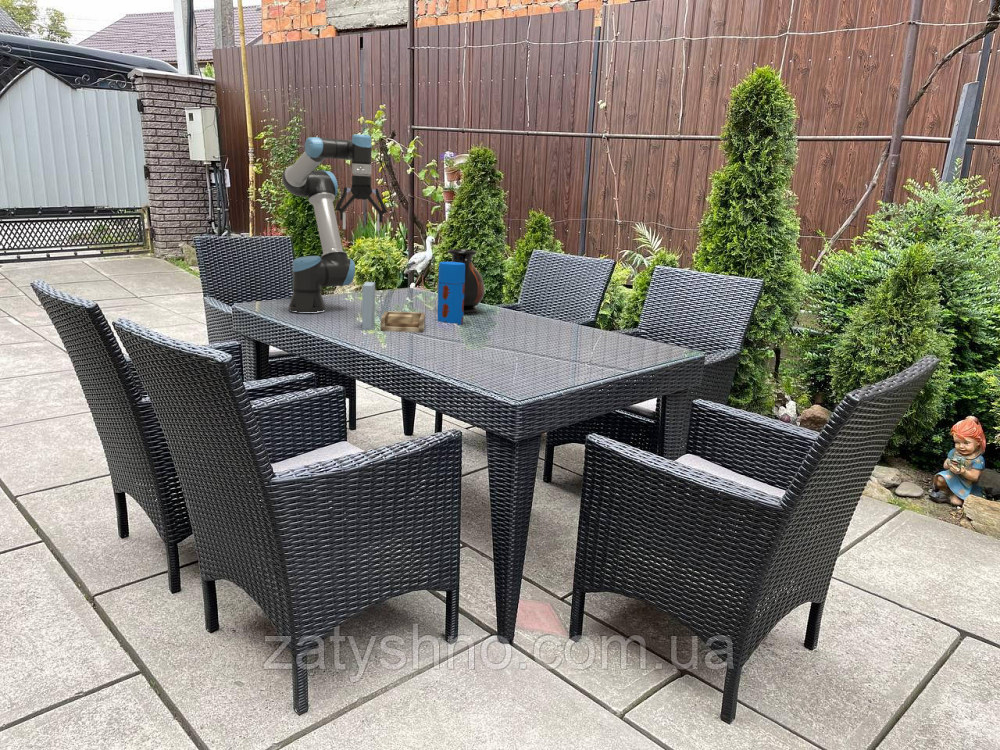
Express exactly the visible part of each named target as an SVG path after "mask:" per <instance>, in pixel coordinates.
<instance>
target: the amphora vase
mask: <svg viewBox="0 0 1000 750" xmlns="http://www.w3.org/2000/svg"><path fill="white" fill-rule="evenodd" d="M447 253H448V254H450V255H451V258H452V259H451V262H460V263H465V289H464V315H473V314H476V313H477V312H478V311H479V308H478V307H477V306H478V305H479V304H480V303H481V301H482V300H483V299H484V296H485V282H484V280H483V277H482V276H483V275H482V274H481V272H479V270H478V269H477V268H476V267H475V265H474V263H473V261H472V259H473V256H474V255H476V254H477V251H476V250H474V249H473V250H472V249H464V248H462V249H461V248H452V249H451V248H450V249H448V251H447ZM438 282H439V281H437V283H438ZM436 292H437V294H438V284H437V286H436Z"/></svg>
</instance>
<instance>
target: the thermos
mask: <svg viewBox="0 0 1000 750" xmlns="http://www.w3.org/2000/svg"><path fill="white" fill-rule="evenodd" d="M437 280H438V281H439V282H438V281H437V285H438V293H437V321H438V322H440V323H445V324H457V326H461V325H463V323H464V315H465V314H464V289H465V263H460V262H452V261H441V262H439V265H438V279H437Z"/></svg>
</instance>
